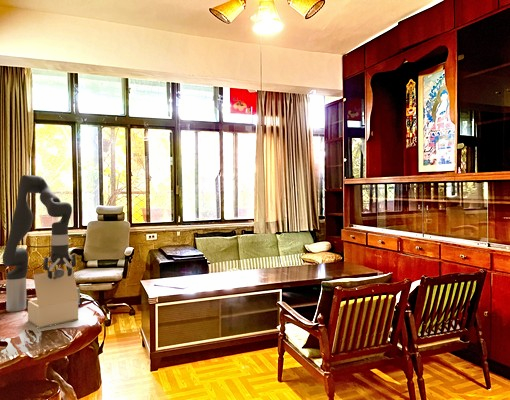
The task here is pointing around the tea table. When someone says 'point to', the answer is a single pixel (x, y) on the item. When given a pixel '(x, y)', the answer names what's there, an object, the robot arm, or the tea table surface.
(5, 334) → the tea table surface
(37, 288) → the lid flap
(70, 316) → the carton
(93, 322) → the tea table surface
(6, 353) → the tea table surface
